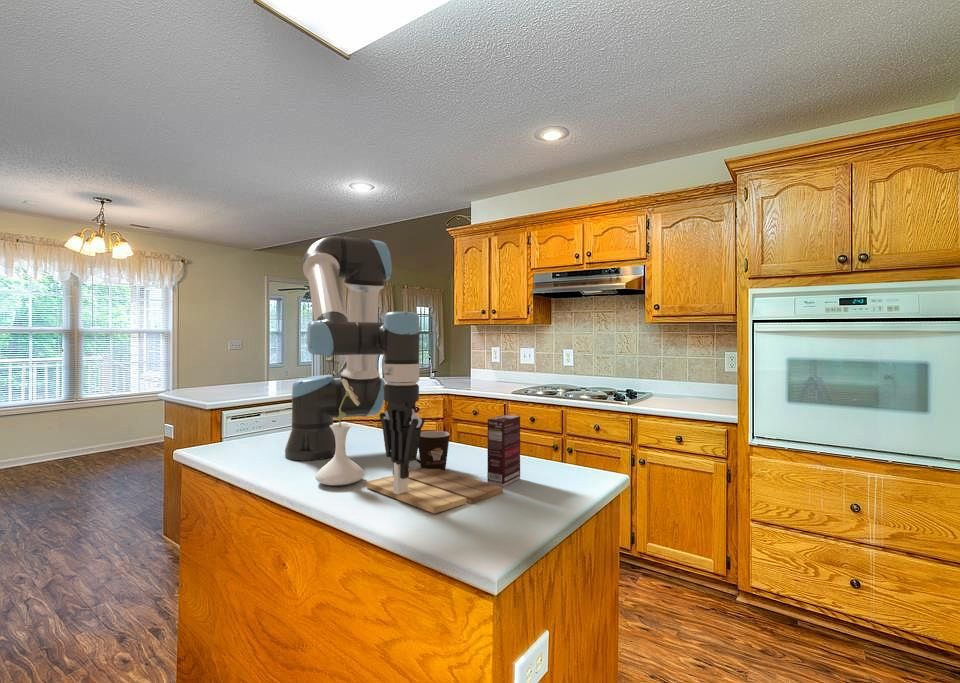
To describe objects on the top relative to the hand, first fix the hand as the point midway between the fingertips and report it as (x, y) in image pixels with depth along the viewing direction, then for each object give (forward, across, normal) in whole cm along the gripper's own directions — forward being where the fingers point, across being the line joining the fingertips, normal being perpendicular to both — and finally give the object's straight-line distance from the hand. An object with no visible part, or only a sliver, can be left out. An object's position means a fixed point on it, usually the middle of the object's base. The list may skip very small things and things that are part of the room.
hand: (400, 492), depth 102 cm
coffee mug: (+2, -14, +20) cm, 24 cm away
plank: (+2, 0, +4) cm, 4 cm away
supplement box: (+2, +8, +26) cm, 27 cm away
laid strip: (+2, 0, +14) cm, 14 cm away
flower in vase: (+2, -21, -2) cm, 21 cm away
